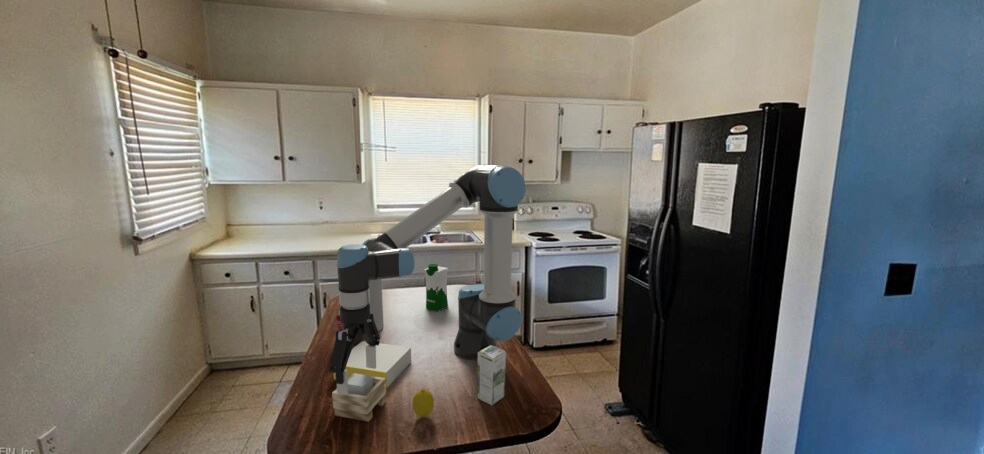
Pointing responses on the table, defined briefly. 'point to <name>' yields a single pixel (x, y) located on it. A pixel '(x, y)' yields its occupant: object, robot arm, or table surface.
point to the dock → (379, 361)
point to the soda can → (340, 324)
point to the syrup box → (491, 374)
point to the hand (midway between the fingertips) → (357, 379)
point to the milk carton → (436, 287)
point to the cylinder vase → (376, 302)
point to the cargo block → (360, 384)
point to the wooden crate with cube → (360, 401)
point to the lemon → (423, 403)
